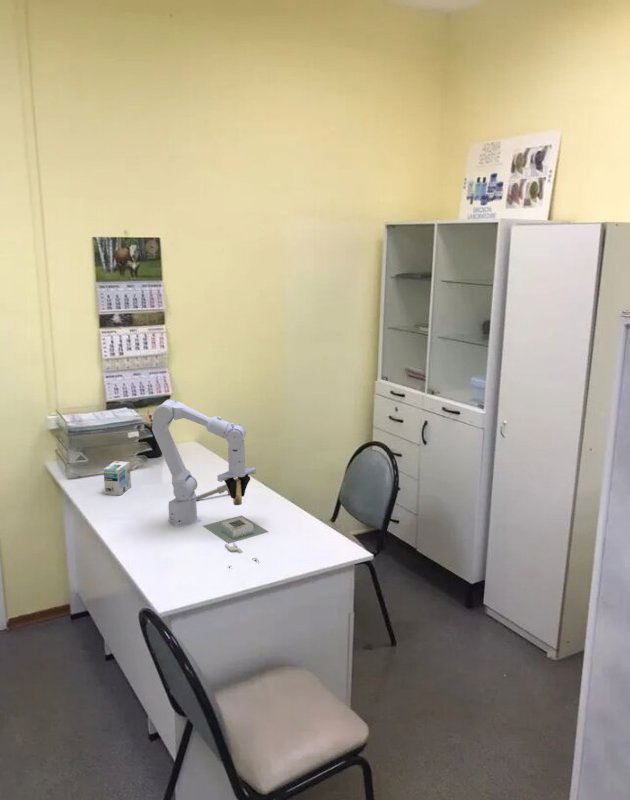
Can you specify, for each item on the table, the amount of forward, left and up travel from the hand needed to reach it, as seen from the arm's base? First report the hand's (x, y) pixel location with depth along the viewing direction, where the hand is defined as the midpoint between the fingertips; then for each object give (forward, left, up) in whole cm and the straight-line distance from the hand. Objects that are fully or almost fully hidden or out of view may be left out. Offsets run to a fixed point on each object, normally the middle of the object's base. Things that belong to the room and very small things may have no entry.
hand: (237, 496), depth 240 cm
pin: (0, 0, -3) cm, 3 cm away
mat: (-4, -5, -10) cm, 12 cm away
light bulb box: (-22, +56, -10) cm, 61 cm away
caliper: (+4, +27, -10) cm, 30 cm away
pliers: (-14, -22, -10) cm, 28 cm away
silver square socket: (-5, -8, -10) cm, 13 cm away
